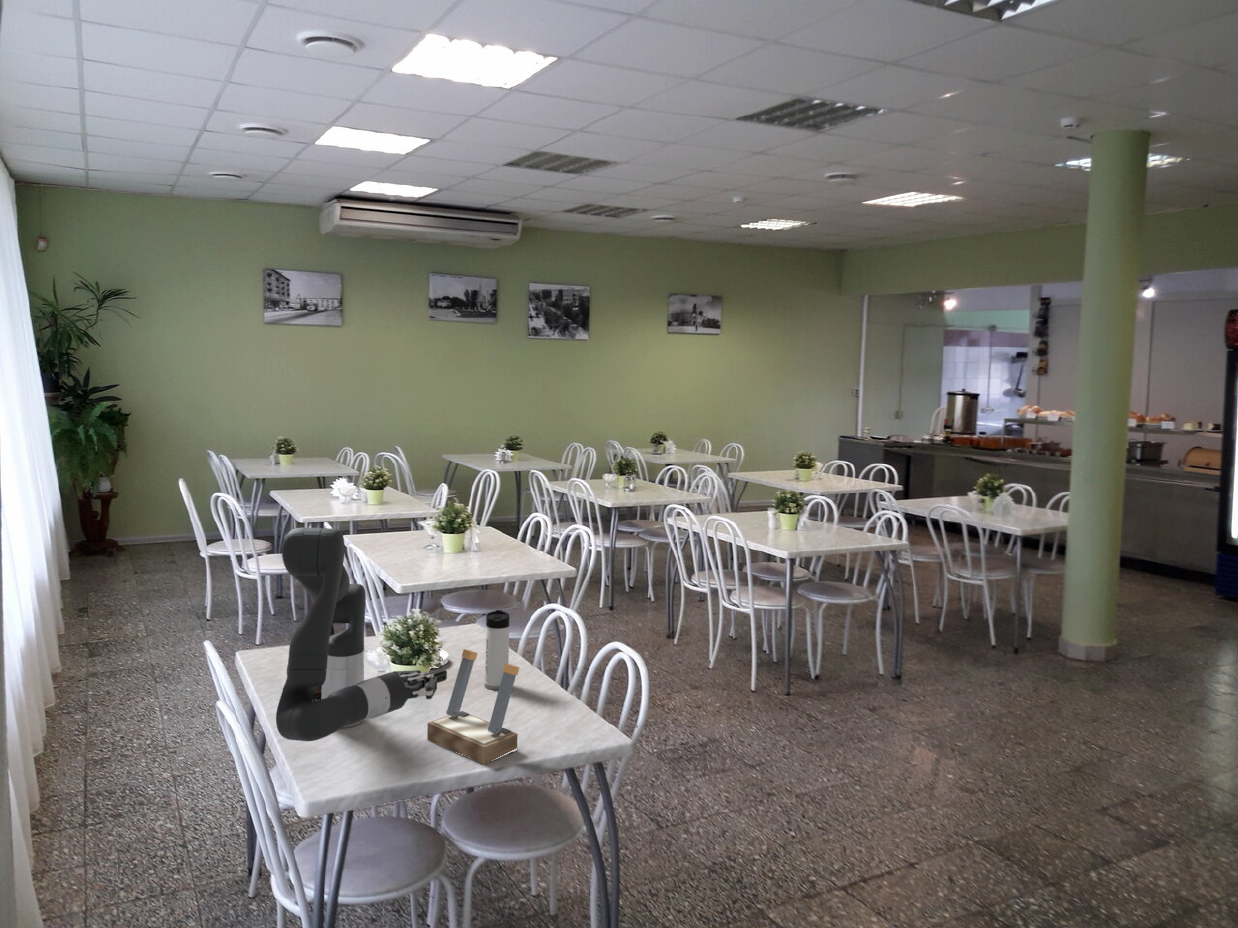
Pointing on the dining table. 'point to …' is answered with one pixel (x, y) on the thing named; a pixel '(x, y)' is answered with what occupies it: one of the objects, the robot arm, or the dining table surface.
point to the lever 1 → (461, 683)
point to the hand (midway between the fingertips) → (444, 673)
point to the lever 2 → (503, 698)
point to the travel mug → (496, 648)
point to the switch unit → (471, 737)
